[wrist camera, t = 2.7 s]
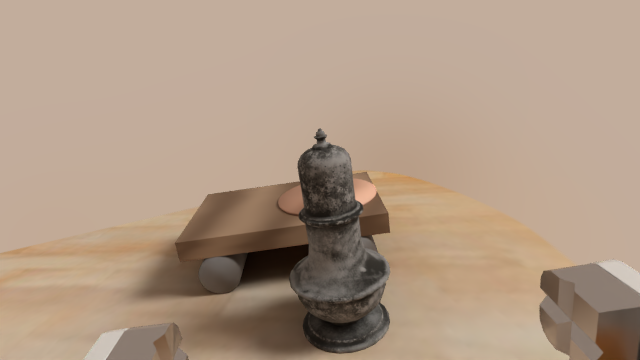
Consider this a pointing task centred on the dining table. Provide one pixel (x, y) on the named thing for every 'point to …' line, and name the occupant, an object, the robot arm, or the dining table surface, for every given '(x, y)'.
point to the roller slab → (261, 227)
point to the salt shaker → (337, 257)
